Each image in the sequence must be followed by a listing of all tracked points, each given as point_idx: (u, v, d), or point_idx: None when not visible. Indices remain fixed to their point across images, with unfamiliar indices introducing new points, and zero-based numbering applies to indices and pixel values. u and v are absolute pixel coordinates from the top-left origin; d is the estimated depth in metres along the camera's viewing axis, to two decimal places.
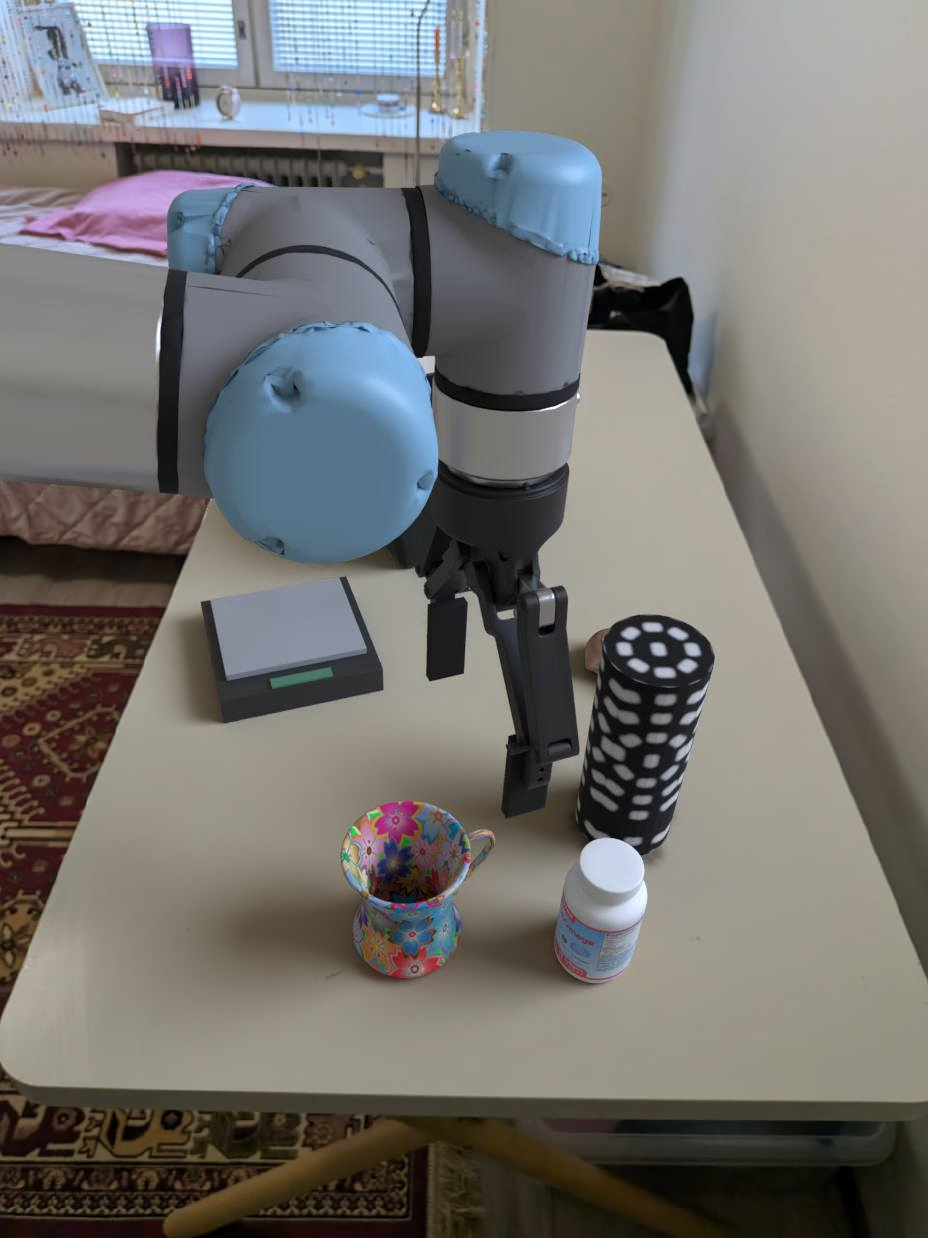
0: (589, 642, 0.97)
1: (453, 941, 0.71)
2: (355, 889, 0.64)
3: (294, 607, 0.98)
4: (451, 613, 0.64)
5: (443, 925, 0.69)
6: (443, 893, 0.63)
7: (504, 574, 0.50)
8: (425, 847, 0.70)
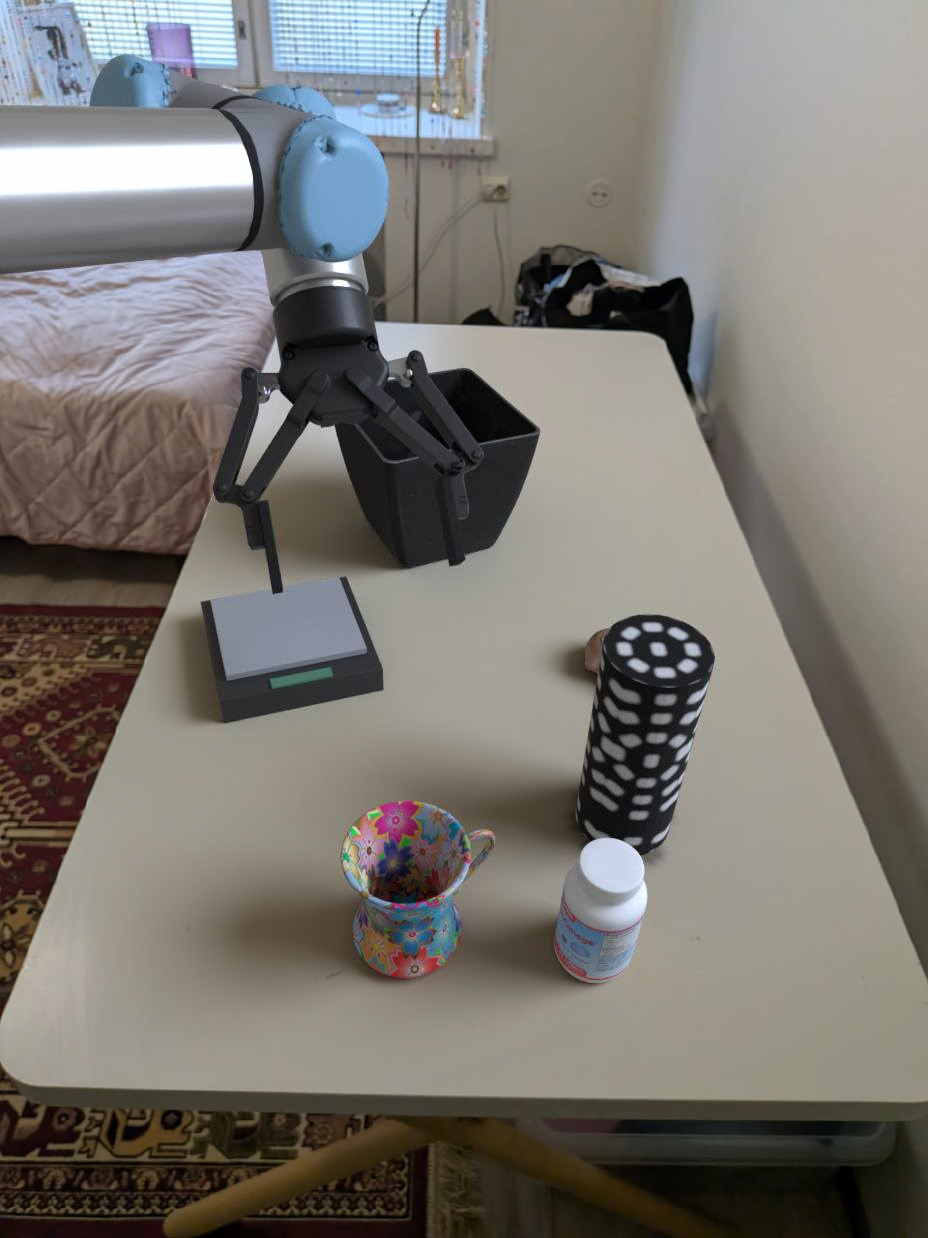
0: (589, 642, 0.97)
1: (453, 941, 0.71)
2: (355, 889, 0.64)
3: (294, 607, 0.98)
4: None
5: (443, 925, 0.69)
6: (443, 893, 0.63)
7: (381, 359, 0.70)
8: (425, 847, 0.70)
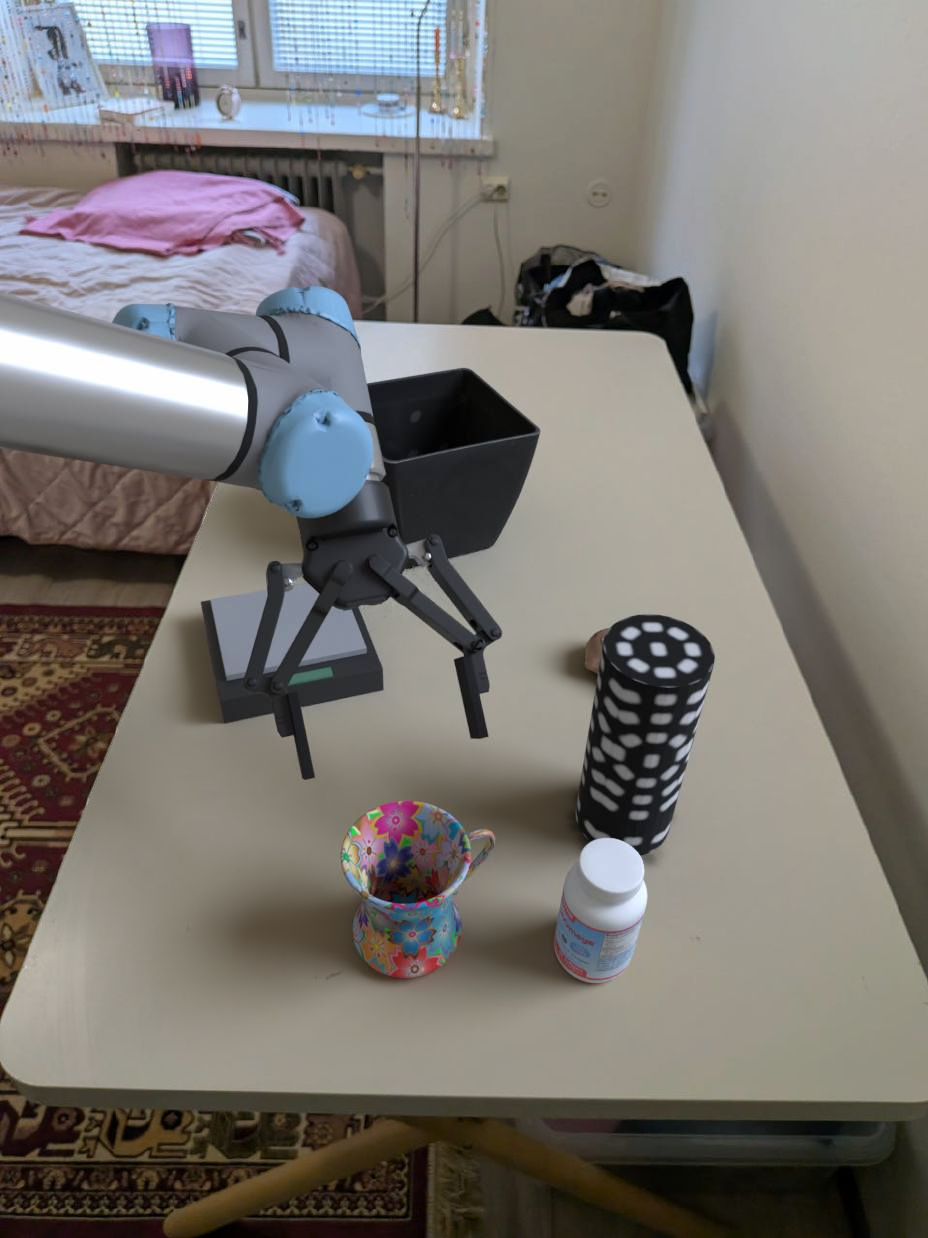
0: (589, 642, 0.97)
1: (453, 941, 0.71)
2: (355, 889, 0.64)
3: (294, 607, 0.98)
4: None
5: (443, 925, 0.69)
6: (443, 893, 0.63)
7: (400, 544, 0.72)
8: (425, 847, 0.70)
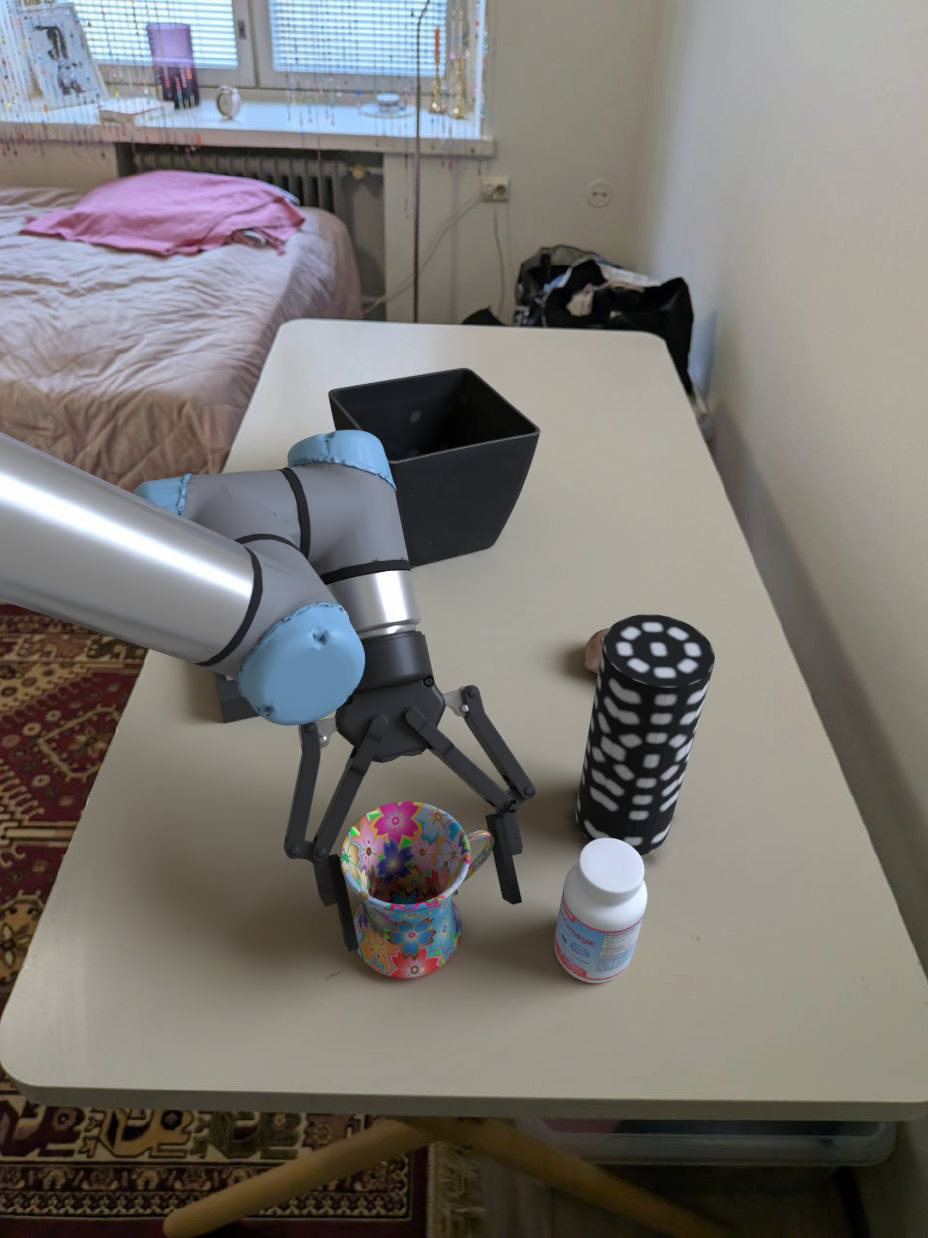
0: (589, 642, 0.97)
1: (453, 942, 0.70)
2: (354, 890, 0.64)
3: None
4: None
5: (443, 926, 0.69)
6: (442, 894, 0.63)
7: (437, 695, 0.70)
8: (425, 848, 0.70)
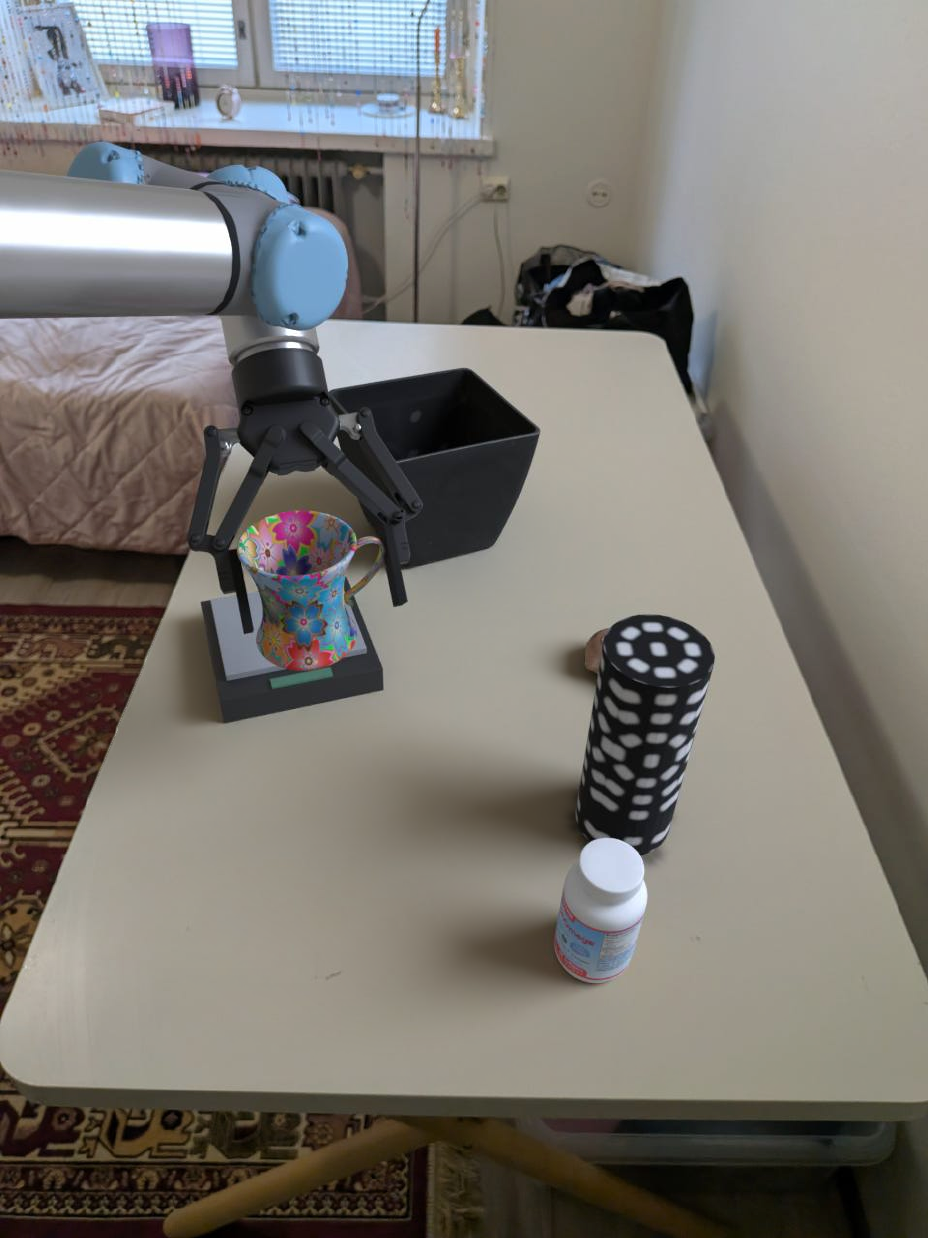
0: (589, 642, 0.97)
1: (346, 642, 0.77)
2: (246, 565, 0.70)
3: None
4: None
5: (335, 621, 0.75)
6: (326, 569, 0.70)
7: (332, 413, 0.76)
8: (321, 555, 0.77)
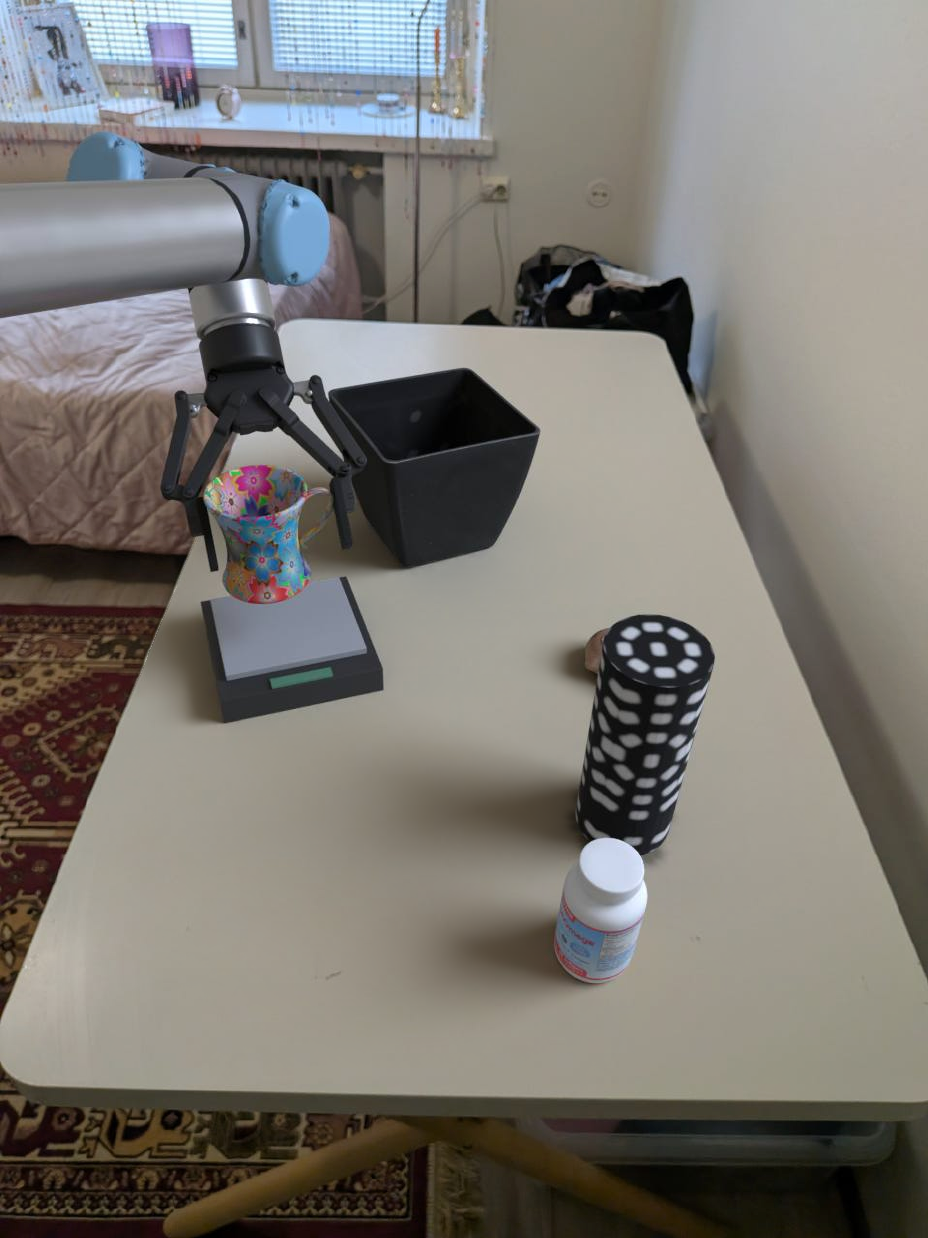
0: (589, 642, 0.97)
1: (300, 580, 0.88)
2: (211, 509, 0.82)
3: (294, 607, 0.98)
4: None
5: (289, 560, 0.87)
6: (279, 512, 0.81)
7: (287, 380, 0.88)
8: (278, 504, 0.88)
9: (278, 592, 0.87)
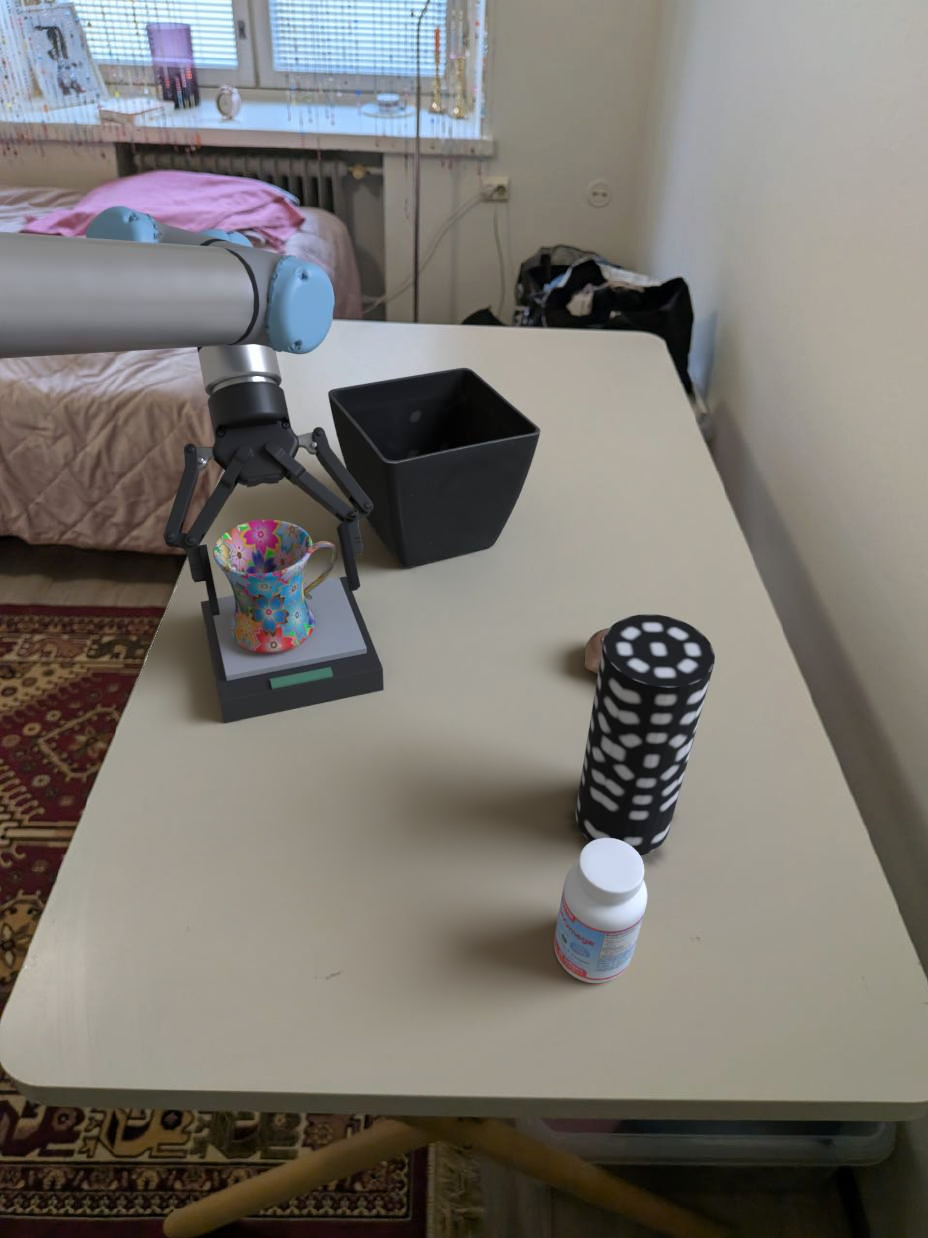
0: (589, 642, 0.97)
1: (305, 629, 0.92)
2: (221, 565, 0.85)
3: None
4: None
5: (295, 611, 0.91)
6: (286, 568, 0.85)
7: (292, 434, 0.91)
8: (284, 557, 0.92)
9: (284, 641, 0.91)
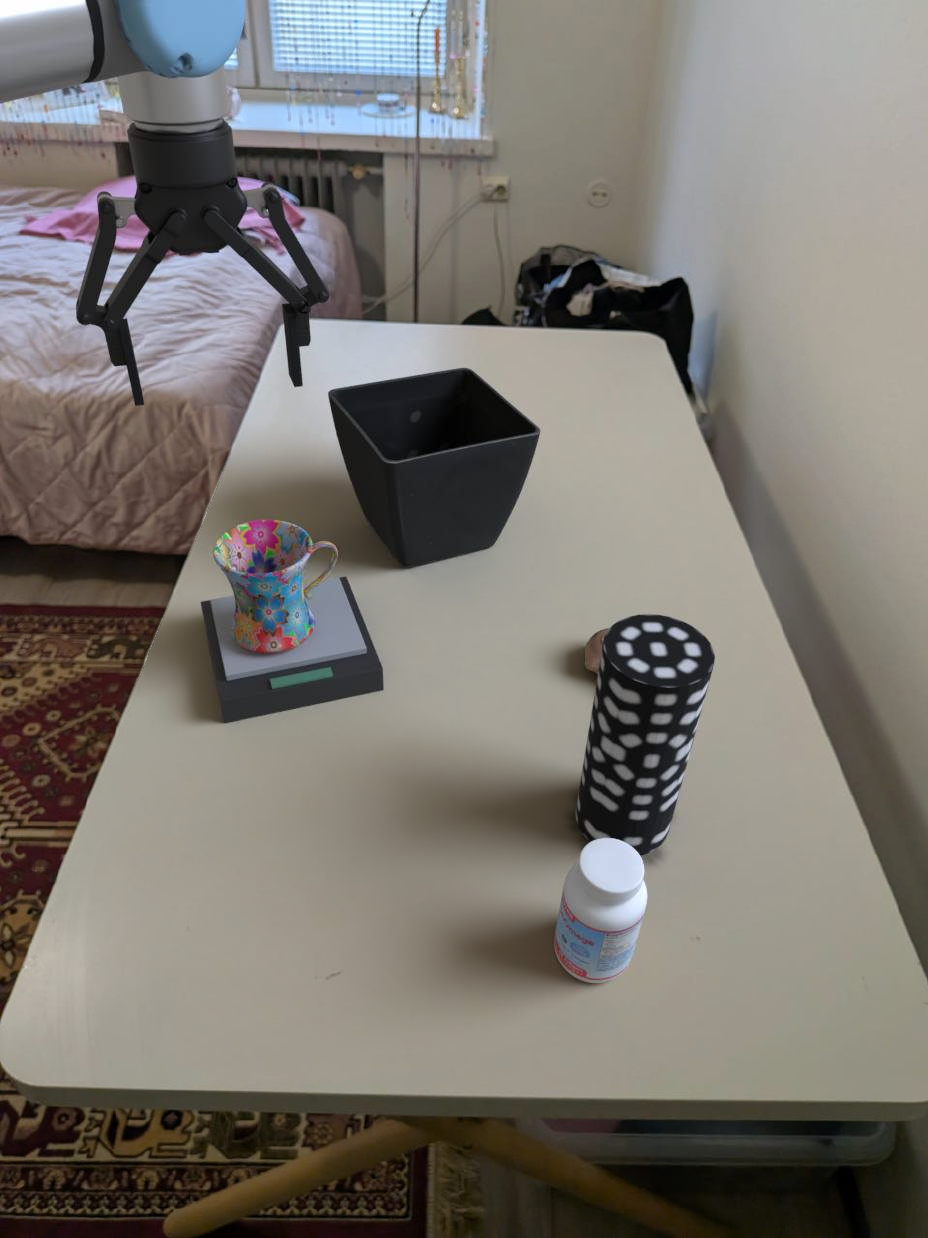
0: (589, 642, 0.97)
1: (305, 629, 0.92)
2: (221, 565, 0.85)
3: None
4: (129, 331, 0.76)
5: (295, 611, 0.91)
6: (286, 568, 0.85)
7: (239, 196, 0.71)
8: (284, 557, 0.92)
9: (284, 641, 0.91)
